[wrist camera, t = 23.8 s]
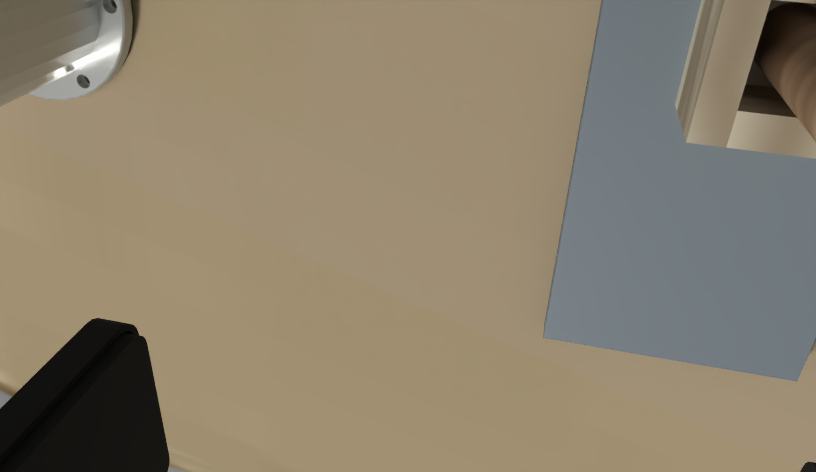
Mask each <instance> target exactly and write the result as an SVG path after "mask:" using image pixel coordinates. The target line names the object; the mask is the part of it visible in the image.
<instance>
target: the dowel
mask: <svg viewBox="0 0 816 472" xmlns="http://www.w3.org/2000/svg"><path fill="white" fill-rule="evenodd" d="M753 59H754V61H755V63H756V64H757V65H758V66H759V68H760V69H761V70H762V72H763V73H764V74H765V76H766V77H767V78H768V80H769V81H770V82H771V84H772V85H773V86H774V88H775V89H776V90H777V92H778V93H779V94H780V96H781V97H782V98H783V99H784V101H785V102H786V103H787V105H788V106H789V107H790V109H791V110H792V111H793V113H794V114H795V115H796V117H797V118H798V119H799V121H800V122H801V123H802V125H803V126H804V127H805V128H806V130H807V131H808V132H809V134H810V135H811V136H812V138H813V139H814V140H815V142H816V8H815V7H813V6H811V5H809V4H805V3H796V2H795V3H787V4H783V5H780V6H778V7H776V8H774V9H772V10H770V11H769V12H768V13H767V15H766V19H765V22H764V25H763V28H762V32H761V35H760V38H759V42H758V45H757V48H756V51H755V55H754V58H753Z"/></svg>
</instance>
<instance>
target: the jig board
mask: <svg viewBox="0 0 816 472" xmlns="http://www.w3.org/2000/svg"><path fill="white" fill-rule="evenodd" d="M700 4H701V0H602V2H601V8H600V14H599V19H598V25H597V30H596V36H595V42H594V47H593V53H592V59H591V64H590V70H589V76H588V81H587V87H586V93H585V98H584V104H583V110H582V115H581V121H580V127H579V132H578V138H577V143H576V149H575V155H574V160H573V166H572V172H571V177H570V183H569V189H568V194H567V200H566V206H565V211H564V217H563V223H562V228H561V234H560V240H559V245H558V251H557V256H556V262H555V268H554V273H553V279H552V285H551V290H550V296H549V302H548V307H547V313H546V319H545V325H544V335H543V338H547V339H553V340H559V341H564V342H570V343H576V344H582V345H588V346H594V347H599V348H605V349H611V350H617V351H623V352H629V353H634V354H640V355H646V356H652V357H658V358H664V359H669V360H675V361H681V362H687V363H693V364H699V365H704V366H710V367H716V368H722V369H728V370H734V371H739V372H745V373H751V374H757V375H763V376H769V377H774V378H780V379H786V380H792V381H797V380H798V378H799V376H800V373H801V371H802V369H803V366H804V364H805V362H806V360H807V357H808V355H809V353H810V350H811V348H812V346H813V344H814V341H815V339H816V159H814V158H806V157H798V156H790V155H782V154H774V153H766V152H758V151H750V150H742V149H734V148H726V147H718V146H710V145H702V144H694V143H686V141H685V137H684V134H683V131H682V127H681V124H680V120H679V117H678V114H677V110H676V107H675V102H676V98H677V94H678V90H679V86H680V82H681V78H682V75H683V71H684V67H685V63H686V59H687V55H688V51H689V47H690V43H691V39H692V35H693V31H694V27H695V23H696V19H697V15H698V12H699V8H700Z"/></svg>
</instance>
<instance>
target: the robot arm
mask: <svg viewBox="0 0 816 472" xmlns="http://www.w3.org/2000/svg"><path fill="white" fill-rule="evenodd" d="M132 25H133V16H132V8H131V0H0V106H2V105H4V104H6V103H9V102H11V101H13V100H15V99H17V98H19V97H21V96H23V95H25V94H29V95H32V96H35V97H40V98H44V99H48V100H71V99H76V98H81V97H84V96H86V95H88V94H90V93H92V92H94V91H96V90H98V89H99V88H101V87H102V86H104V85H106V84H107V83H109V82H110V81H111V80H112V78H113V77H114V76H115V75H116V74H117V73H118V72H119V71H120V69H121V67H122V65H123V63H124V61H125V59H126V57H127V55H128V51H129V47H130V43H131V39H132ZM168 467H169V453H168V448H167V442H166V437H165V432H164V427H163V422H162V417H161V412H160V407H159V402H158V397H157V392H156V387H155V381H154V376H153V371H152V366H151V361H150V356H149V351H148V346H147V342H146V339H145V338H144V337H143V336H139V333H138V331H137V328H136V327H135V326H134V325H131V324H127V323H121V322H116V321H111V320H105V319H100V318H96V319H92V320H91V321H89V322H88V323H87V324H86V325H85V326H84V327H83V328H82V329H81V330H80V331H79V332H78V333H77V334H76V335H75V336H74V337H73V338H72V339H71V340H69V341H68V342H67V343H66V344H65V345H64V346H63V347H62V348H61V349H60V350H59V351H58V352H57V353H56V354H55V355H54V356H53V357H52V358H51V359H50V360H49V361H48V362H47V363H46V364H45V365H44V366H43V367H42V368H41V369H40V370H39V371H38V372H37V373H36V374H35V375H34V376H33V377H32V378H31V379H30V380H29V381H28V382H27V383H26V384H25V385H24V386H23V387H22V388H21V389H20V390H19V391H18V392H17V393H16V394H15V395H14V396H13V397H12V398H11V399H10V400H9V401H8V402H7V403H6V404H5V405H4V406H3V407H2V408H1V409H0V472H167V471H168ZM801 472H816V463H813V462H807V463H805V465H804V466H803V468H802V469H801Z"/></svg>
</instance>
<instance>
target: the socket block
mask: <svg viewBox="0 0 816 472" xmlns="http://www.w3.org/2000/svg"><path fill="white" fill-rule="evenodd" d="M795 2H796V3H805V4H809V5H811V6H813V7H815V8H816V0H701V4H700V8H699V12H698V15H697V19H696V23H695V27H694V31H693V35H692V39H691V43H690V47H689V51H688V55H687V59H686V63H685V67H684V71H683V75H682V78H681V82H680V86H679V90H678V94H677V98H676V102H675V107H676V110H677V114H678V117H679V120H680V124H681V127H682V131H683V134H684V137H685V141H686V143H694V144H702V145H710V146H718V147H726V148H734V149H742V150H750V151H758V152H766V153H774V154H782V155H790V156H798V157H806V158H814V159H816V142H815V140H814V139H813V138H812V136H811V135H810V134H809V132H808V131H807V130H806V128H805V127H804V126H803V125H802V123H801V122H800V121H799V119H798V118H797V117H796V115H795V114H794V113H793V111H792V110H791V109H790V107H789V106H788V105H787V103H786V102H785V101H784V99H783V98H782V97H781V96H780V94H779V93H778V92H777V90H776V89H775V88H774V86H773V85H772V84H771V82H770V81H769V80H768V78H767V77H766V76H765V74H764V73H763V72H762V70H761V69H760V68H759V66H758V65H757V64H756V63H755V61H754V59H753V58H754V55H755V51H756V48H757V45H758V42H759V38H760V35H761V32H762V28H763V25H764V22H765V19H766V15H767V13H768V12H769V11H770V10H772V9H774V8H776V7H778V6H780V5H783V4H787V3H795Z"/></svg>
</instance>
